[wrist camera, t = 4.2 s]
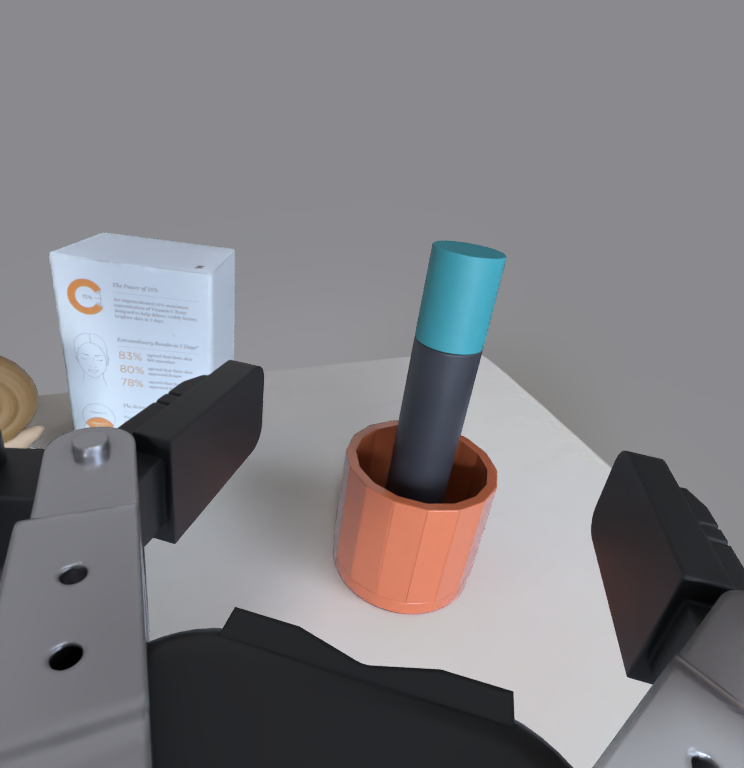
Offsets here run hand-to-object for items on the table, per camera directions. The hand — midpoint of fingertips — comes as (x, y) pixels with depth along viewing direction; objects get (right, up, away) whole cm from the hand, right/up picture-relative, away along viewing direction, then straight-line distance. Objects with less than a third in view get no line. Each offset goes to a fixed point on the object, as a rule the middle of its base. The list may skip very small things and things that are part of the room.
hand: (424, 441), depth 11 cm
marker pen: (0, -7, +16) cm, 18 cm away
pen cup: (0, -8, +16) cm, 18 cm away
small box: (-15, -3, +22) cm, 27 cm away
